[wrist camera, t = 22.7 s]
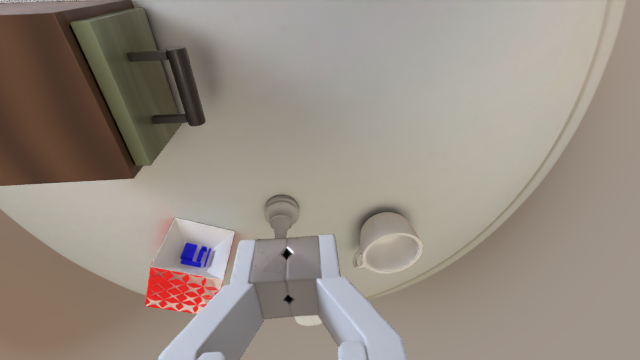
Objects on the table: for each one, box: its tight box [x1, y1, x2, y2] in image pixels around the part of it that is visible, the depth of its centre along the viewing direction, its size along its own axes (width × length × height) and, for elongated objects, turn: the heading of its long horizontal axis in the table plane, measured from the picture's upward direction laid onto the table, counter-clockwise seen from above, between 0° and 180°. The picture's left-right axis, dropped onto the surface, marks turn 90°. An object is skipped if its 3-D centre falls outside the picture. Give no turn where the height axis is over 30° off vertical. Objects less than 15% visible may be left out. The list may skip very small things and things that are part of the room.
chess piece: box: [265, 196, 299, 239], centre depth 35 cm, size 4×4×10 cm
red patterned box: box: [145, 218, 235, 314], centre depth 38 cm, size 8×8×8 cm
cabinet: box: [0, 0, 143, 186], centre depth 24 cm, size 14×12×10 cm
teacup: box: [353, 212, 423, 274], centre depth 40 cm, size 10×8×5 cm
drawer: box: [69, 8, 206, 166], centre depth 24 cm, size 17×10×8 cm, turn 91°
